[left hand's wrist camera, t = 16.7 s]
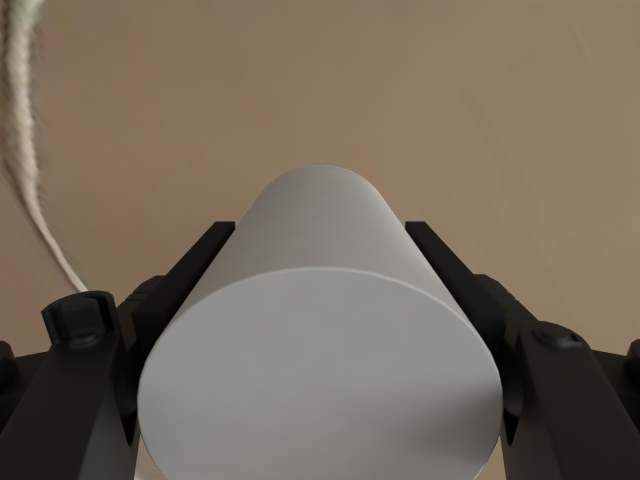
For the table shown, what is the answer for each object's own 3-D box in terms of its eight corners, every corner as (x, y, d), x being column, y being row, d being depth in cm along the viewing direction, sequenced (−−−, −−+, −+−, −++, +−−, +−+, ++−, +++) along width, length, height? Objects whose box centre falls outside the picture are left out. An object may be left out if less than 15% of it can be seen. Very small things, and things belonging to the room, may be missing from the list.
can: (322, 323, 18) (324, 580, 8) (218, 239, 16) (64, 435, 6) (422, 235, 16) (578, 427, 6) (317, 130, 14) (312, 174, 5)
